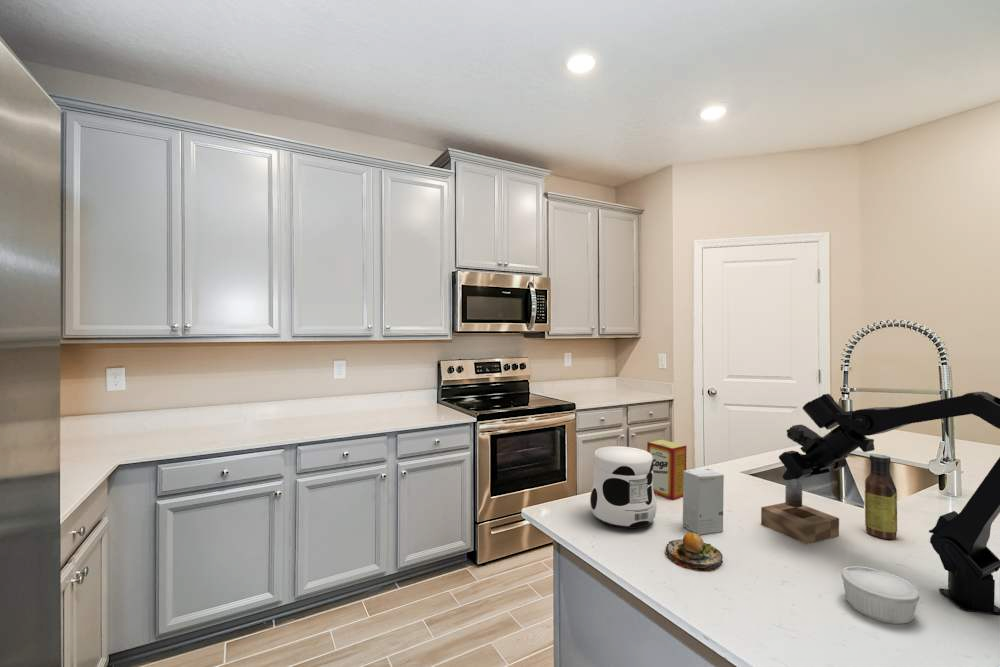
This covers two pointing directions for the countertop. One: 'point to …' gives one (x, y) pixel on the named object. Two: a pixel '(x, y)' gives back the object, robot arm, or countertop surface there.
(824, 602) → the countertop surface
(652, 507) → the milk container
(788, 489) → the grey cylinder
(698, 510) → the skincare box
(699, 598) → the countertop surface
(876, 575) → the ramekin
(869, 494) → the sauce bottle
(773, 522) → the wooden peg base
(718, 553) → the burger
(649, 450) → the baking soda box
